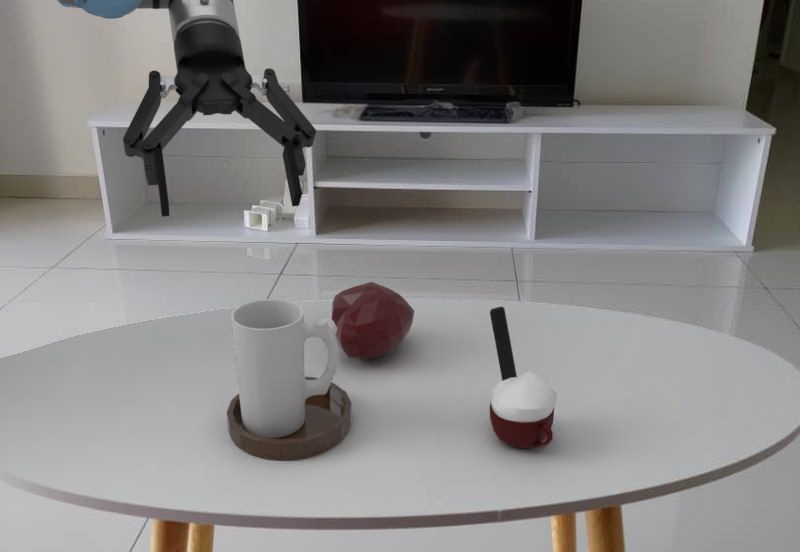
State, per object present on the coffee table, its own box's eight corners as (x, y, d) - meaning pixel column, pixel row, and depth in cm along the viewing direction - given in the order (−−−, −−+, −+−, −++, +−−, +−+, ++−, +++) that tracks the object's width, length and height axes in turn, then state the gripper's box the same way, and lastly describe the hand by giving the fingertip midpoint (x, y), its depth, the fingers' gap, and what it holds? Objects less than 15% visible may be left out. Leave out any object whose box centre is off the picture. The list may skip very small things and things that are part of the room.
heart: (407, 316, 97) (332, 331, 96) (401, 262, 94) (323, 277, 93) (428, 363, 86) (344, 380, 85) (422, 304, 83) (334, 321, 82)
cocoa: (561, 463, 70) (575, 350, 66) (495, 465, 70) (504, 351, 65) (537, 408, 79) (548, 305, 74) (478, 409, 79) (485, 306, 74)
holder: (238, 471, 68) (237, 453, 68) (221, 402, 79) (220, 385, 78) (366, 447, 72) (366, 429, 71) (333, 383, 83) (333, 368, 82)
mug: (238, 444, 72) (229, 331, 67) (239, 406, 78) (231, 301, 73) (343, 434, 73) (341, 324, 69) (336, 398, 79) (334, 295, 75)
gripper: (85, 18, 78) (101, 196, 71) (318, 18, 86) (354, 178, 79) (94, 64, 85) (109, 231, 78) (309, 60, 93) (342, 212, 86)
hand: (233, 205), depth 78 cm, fingers open, 13 cm apart
